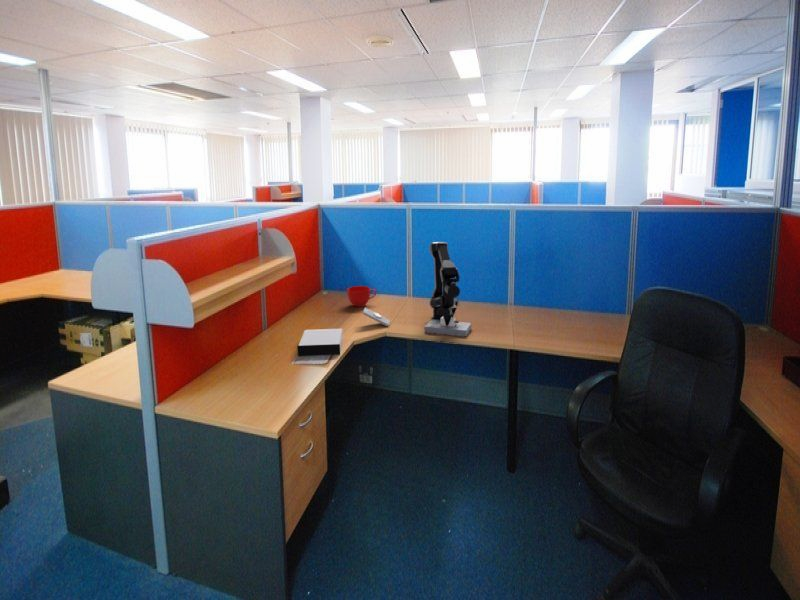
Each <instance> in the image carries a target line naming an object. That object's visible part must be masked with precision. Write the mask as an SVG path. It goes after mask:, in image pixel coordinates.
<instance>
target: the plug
mask: <svg viewBox="0 0 800 600" xmlns="http://www.w3.org/2000/svg"><path fill="white" fill-rule="evenodd" d="M459 322H460V321H459V320H456V317H455V316H453V317H451V320H450V322H449V325H448V326H455V327H456V325H455V324H456V323H459ZM441 325H443V326H447V325H446V324H445V320H444V317H443V316H442V317H441Z"/></svg>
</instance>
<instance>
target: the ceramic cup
mask: <svg viewBox="0 0 800 600" xmlns="http://www.w3.org/2000/svg"><path fill="white" fill-rule="evenodd" d="M346 291H347V297H348V300H349V302H350V304H351V305H353V306H354V307H355V306H358V308H359V307H360V306H362V307H365V306H366V304H367V303H368V302H369V300H371V299H372V298H375V297H376V296H377V294H378V293H377V290H376V289H374V288H373V289H372V288H370V287H369V286H364V285H355V286H350V287H348V288H347V290H346ZM372 291H373V292H374V291H375V293H374V294H373V295H372V296H370V295H371V293H372ZM364 305H365V306H364ZM360 308H361V307H360Z"/></svg>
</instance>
